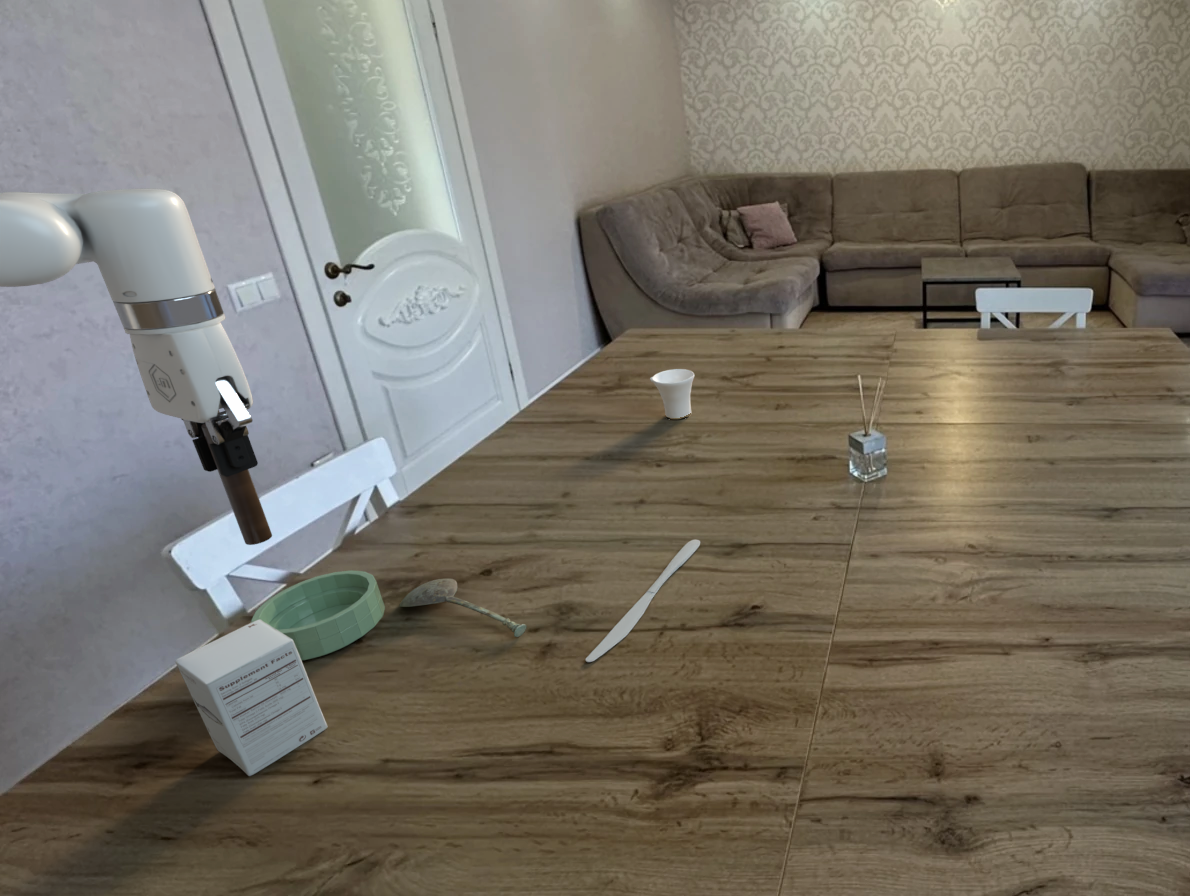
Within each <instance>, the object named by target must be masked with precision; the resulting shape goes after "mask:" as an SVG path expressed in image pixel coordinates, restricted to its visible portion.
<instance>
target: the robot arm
mask: <svg viewBox="0 0 1190 896" xmlns="http://www.w3.org/2000/svg"><path fill="white" fill-rule="evenodd" d="M86 263H87V264H88V263H95V264H96V265H97V268H98V269H99V271H100V274H101V277H102V279H103V281H104V284H105V286H106V289H107V291H108V293H109V296H110V299H111V301H112V304H113V305H114V307H115V310H116V313H117V316H118V317H119V320H120V322H121V325H122V328H123V329H124V332H125V334H127V335H129V338H130V343H131V348H132V351H133V355H134V359H135V362H136V365H137V369H138V372H139V374H140V377H141V380H142V383H143V386H144V390H145V392H146V395H147V398H148V400H149V403H150V405H151V407H152V409H153V411H156V412H157V413H160V414H162V415H165V416H169V417H173V418H177V419H180V420H181V421H183V423H184V426H185V429H186V432H187V434H188V436H189V437H190V438H191V441H192V443H193V446H194V448H195V451H196V453H197V456H198V459H199V461H200V463H201V466H202V468H203V470H204V471H205V472H209V473H210V472H214V471H218V470H217V467H216V465H215V462H214V459H213V457H212V454H211V451H210V449H209V446H208V443H207V441H206V438H205V436H204V433H203V430H202V428H201V426H202V425H203V424H206V426H207V428H208V431H209V433H210V436H211V438H212V440H213V442H214V443H212V444H209V445H210V448H211V450H212V453H213V455H214V458H215V460H216V463H217V466H218V468H219V471H220V473H221V475H222V476H226V477H228V476H231V475H234V474H237V473H239V472H242V471H245V470H247V469H249V470H251V469H253V468H256V467H257V466H258V464H259V462H258V460H257V457H256V454H255V451H254V448H253V446H252V443H251V440H250V438H249V433H250V432H249V429H248V427H247V426H249V425H250V424H252V423H253V418H252V416H251V414H250V413H249V411H248V410H249V409H251V408H252V407H253V404H254V398H253V395H252V391H251V387H250V384H249V382H248V378H247V377H246V374H245V371H244V369H243V365H242V364H241V362H240V360H239V357H238V355H237V352H236V351H235V348H234V346H233V344H232V342H231V340H230V338H229V335H228V334H227V331H226V330H225V328H224V326H223V324H222V322H223V321H225V320H226V315H225V313H224V312H225V311H224V309H223V306H222V304H221V301H220V298H219V295H218V292H217V289H216V287H215V284H214V282H213V281H214V280H213V279H212V276H211V273H210V270H209V266H208V264H207V262H206V258H205V256H204V253H203V250H202V247H201V245H200V242H199V239H198V236H197V233H196V231H195V227H194V225H193V222H192V220H191V216H190V213H189V210H188V208H187V206H186V204H185V201H184V200H183V199H182V198H181V197H180V195H178V194H177V193H175V192H173V191H172V190H168V189H164V188H163V189H162V188H124V189H122V188H121V189H108V190H100V191H93V192H88V193H56V192H55V193H51V192H31V191H30V192H28V191H27V192H26V191H6V192H5V191H4V192H0V288H5V287H6V288H12V287H13V288H16V287H17V288H18V287H30V286H35V285H43V284H46V283H50V282H53V281H55V280H57V279H60V278H62V277H64V276H66V275H67V274H68V273H69V272H71V271H72V269H73V268H74V267H75V266H76V265H80V264H86ZM221 409H223V411H220V410H221ZM224 419H228V420H227V421H225V422H222V423H221V425H220V428H219V425H218V423H217V421H221V420H224Z"/></svg>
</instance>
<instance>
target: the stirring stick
mask: <svg viewBox="0 0 1190 896" xmlns="http://www.w3.org/2000/svg"><path fill="white" fill-rule="evenodd" d="M227 420H228V418H227V419H224V420H221V421H217V423H218V425H219V428H220V425H221V423H222V422H225V421H227ZM201 428H202V430H203V433H204V436H205V438H206V441H207V443H208V446H209V449H210V451H211V454H212V457H213V459H214V462H215V465H216V467H217V470H216V471H217V472H218V475H219V478H220V481H221V483H222V486H223V489H224V491H225V493H226V496H227V499H228V501H229V504H230V506H231V510H232V512H233V514H234V517H235V520H236V523H237V525H238V528H239V530H240V533H241V536H242V538H243V541H244V543H245V545H247V546H253V545H258V544H262V543H264V542H266V541H268V540H270V539H271V538H272V537H273V534H272V533H273V532H272V531H271V528H270V524H269V522H268V520H267V519H268V518H267V517H266V514H265V511H264V509H263V506H262V503H261V500H260V498H259V495H258V491H257V489H256V486H255V484H254V482H253V478H252V475H251V472H250V469H247V470H245V471H242V472H239V473H237V474H234V475H231V476H228V477H226V476H222V475H221V473H220V471H219V468H218V466H217V463H216V460H215V458H214V455H213V453H212V450H211V448H210V445H209V444H212V443H214V442H213V440H212V438H211V436H210V433H209V431H208V428H207V426H206V424H203V425H202V426H201Z"/></svg>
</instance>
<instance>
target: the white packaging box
mask: <svg viewBox="0 0 1190 896" xmlns="http://www.w3.org/2000/svg"><path fill="white" fill-rule="evenodd" d="M174 663H175V665H176V667H177V669H178V671H179V673H180V675H181V677H182V679H183V681H184V684H185V685H186V688H187V689H188V692H189V694H190V696H191V698H192V700H193V702H194V704H195V706H196V709H197V711H198V713H199V715H200V717H201V719H202V721H203V724H204V726H205V728H206V730H207V732H208V734H209V736H210V739H211V740H212V742H213V744H214V746H215V748H216V750H217V752H219V753H221V754H222V755H223V756H225V757H227V758H228V759H229V760H230V761H231V762H233V763H234V764H235V765H236V766H238V768H239V769H241V770H242V771H243V773H245V774H246V775H247V776H248V777H252V776H254V775H255V774H257V773H258V772H260V771H262V770H263V769H266V768H267V767H268V766H270V765H271V764H273V763H275V762H276V761H278V760H279V759H281V758H282V757H284V756H286V755H287V754H289V753H290V752H293V751H294V750H296V749H297V748H299V747H300V746H302V745H304V744H305V743H307V742H308V741H310V740H311V739H313V738H314V737H316V736H318V735H319V734H321V733H322V732H324V731H326V729H328V723H327V721H326V719H325V716H324V714H323V712H322V709H321V706H320V704H319V702H318V699H317V696H316V694H315V691H314V689H313V686H312V684H311V680H310V679H309V676H308V673H307V671H306V668H305V666H304V663H303V660H301V658H300V655H299V653H298V651H297V648H296V646H295V644H294V641H293V640H292V639H291V638H289V637H288V636H286V635H284V634H283V633H281V632H279V631H278V630H277V629H275V628H273V627H271V626H270V625H268V624H267V623H265V622H263V621H262V620H257V621H254V622H252V623H251V622H250V623H247V624H245V625H244V626H241V627H239V628H237V629H234V630H233V631H230V632H229V633H227V634H225V635H223V636H221V637H219V638H217V639H215V640H213V641H211V642H209V643H206V644H205V645H202V646H201V647H198V648H196V649H195V650H192V651H191V652H188V653H186V654H184V655H182V656H179V658H177V659H175V660H174Z"/></svg>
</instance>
